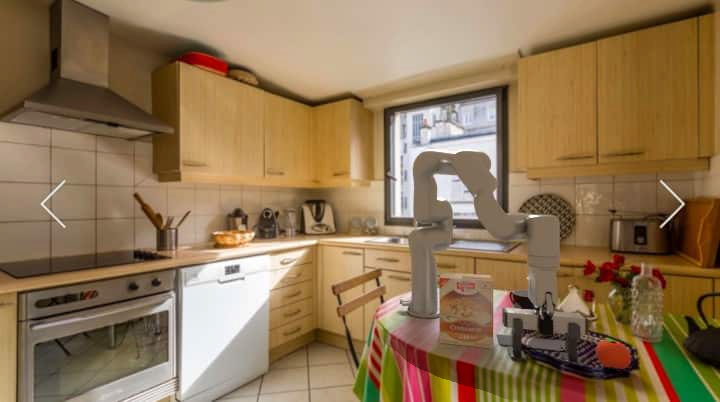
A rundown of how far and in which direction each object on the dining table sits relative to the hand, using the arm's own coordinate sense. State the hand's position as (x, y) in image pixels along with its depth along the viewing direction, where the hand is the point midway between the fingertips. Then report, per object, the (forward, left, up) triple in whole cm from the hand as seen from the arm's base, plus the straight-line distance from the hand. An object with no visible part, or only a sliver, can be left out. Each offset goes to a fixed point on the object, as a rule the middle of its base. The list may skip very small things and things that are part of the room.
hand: (543, 329), depth 86 cm
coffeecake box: (-19, +6, -8) cm, 22 cm away
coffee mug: (+1, +27, -8) cm, 28 cm away
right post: (+6, 0, -8) cm, 10 cm away
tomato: (+15, -1, -8) cm, 17 cm away
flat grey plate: (0, +9, -8) cm, 11 cm away
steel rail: (0, 0, 0) cm, 0 cm away
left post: (-7, 0, -8) cm, 10 cm away
